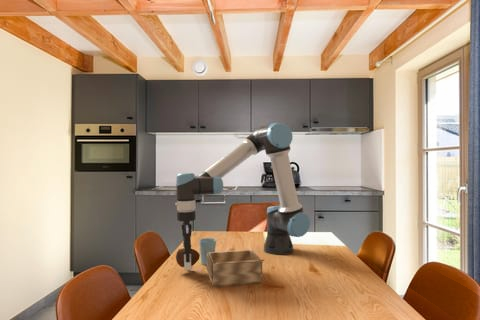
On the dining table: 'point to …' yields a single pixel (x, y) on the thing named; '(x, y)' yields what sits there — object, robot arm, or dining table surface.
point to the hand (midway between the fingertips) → (187, 266)
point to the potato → (180, 257)
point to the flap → (238, 262)
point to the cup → (206, 248)
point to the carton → (233, 268)
